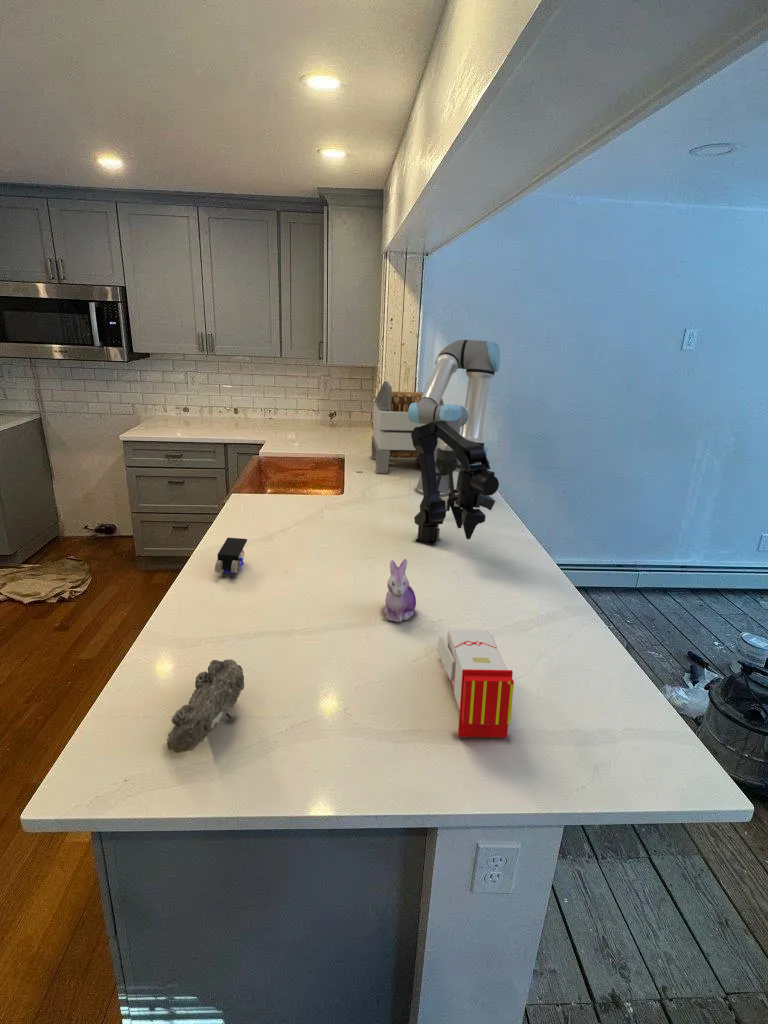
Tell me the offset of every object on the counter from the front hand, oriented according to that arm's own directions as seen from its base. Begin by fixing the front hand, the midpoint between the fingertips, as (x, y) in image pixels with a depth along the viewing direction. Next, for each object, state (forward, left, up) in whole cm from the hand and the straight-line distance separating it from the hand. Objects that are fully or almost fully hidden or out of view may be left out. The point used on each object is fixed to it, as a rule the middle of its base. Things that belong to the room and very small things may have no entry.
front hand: (463, 533), depth 177 cm
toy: (+21, -62, -10) cm, 66 cm away
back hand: (-17, +32, -5) cm, 37 cm away
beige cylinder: (-17, +32, -5) cm, 37 cm away
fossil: (-21, -92, -10) cm, 95 cm away
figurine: (-5, -40, -10) cm, 41 cm away
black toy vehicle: (-58, -39, -10) cm, 71 cm away
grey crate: (-59, +99, -10) cm, 116 cm away
